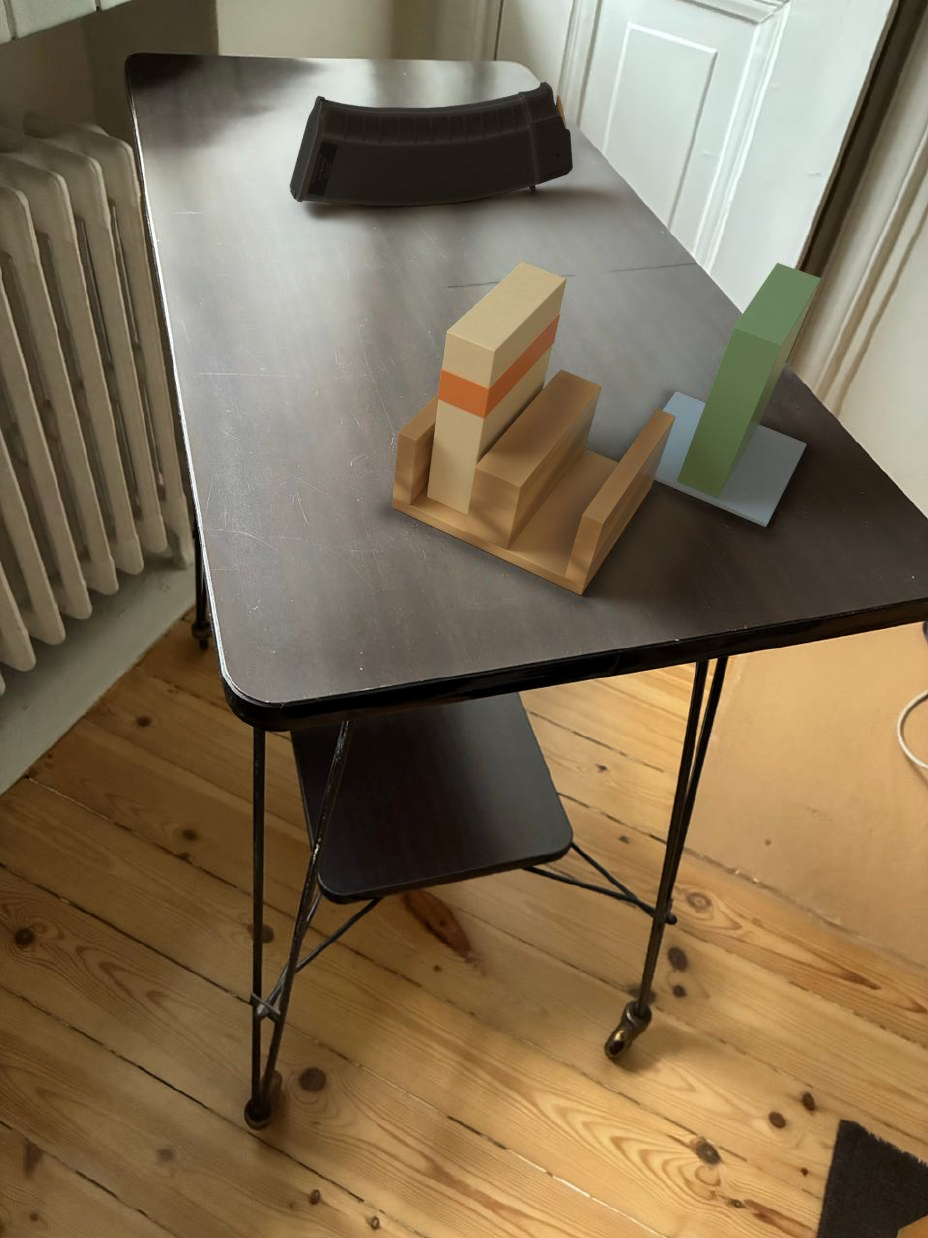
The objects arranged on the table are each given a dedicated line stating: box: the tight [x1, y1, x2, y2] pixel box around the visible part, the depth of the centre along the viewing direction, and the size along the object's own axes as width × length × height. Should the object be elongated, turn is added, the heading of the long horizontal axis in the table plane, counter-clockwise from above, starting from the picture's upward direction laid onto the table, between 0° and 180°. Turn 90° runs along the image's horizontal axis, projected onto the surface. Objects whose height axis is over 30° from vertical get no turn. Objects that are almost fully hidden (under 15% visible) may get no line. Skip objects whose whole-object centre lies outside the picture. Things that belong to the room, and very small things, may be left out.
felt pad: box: [654, 391, 808, 528], centre depth 81 cm, size 12×12×1 cm
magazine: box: [289, 81, 574, 207], centre depth 101 cm, size 17×3×30 cm
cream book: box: [427, 261, 568, 515], centre depth 70 cm, size 4×11×14 cm, turn 152°
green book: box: [677, 262, 822, 499], centre depth 76 cm, size 4×11×14 cm, turn 152°
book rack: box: [391, 368, 676, 596], centre depth 73 cm, size 16×14×7 cm
